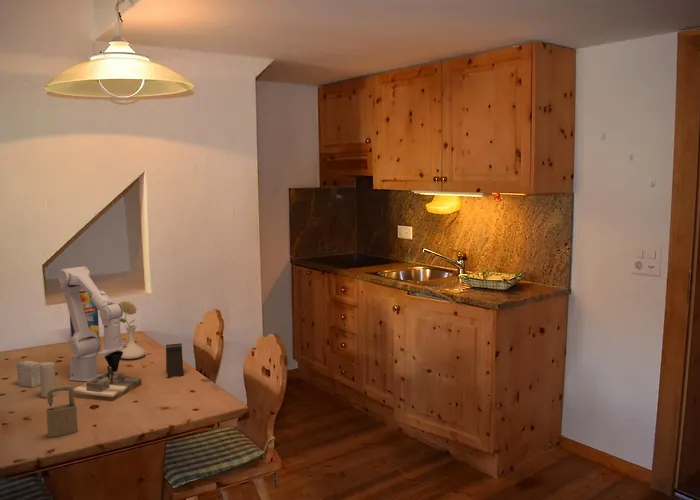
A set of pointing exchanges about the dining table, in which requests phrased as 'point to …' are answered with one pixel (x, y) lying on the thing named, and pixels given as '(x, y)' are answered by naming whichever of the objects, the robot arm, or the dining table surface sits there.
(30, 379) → the grey upright block
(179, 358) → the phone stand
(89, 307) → the juice carton
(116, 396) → the door and jamb
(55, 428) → the padlock
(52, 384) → the beige cylinder
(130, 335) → the flower in vase
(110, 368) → the bolt
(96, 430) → the dining table surface
